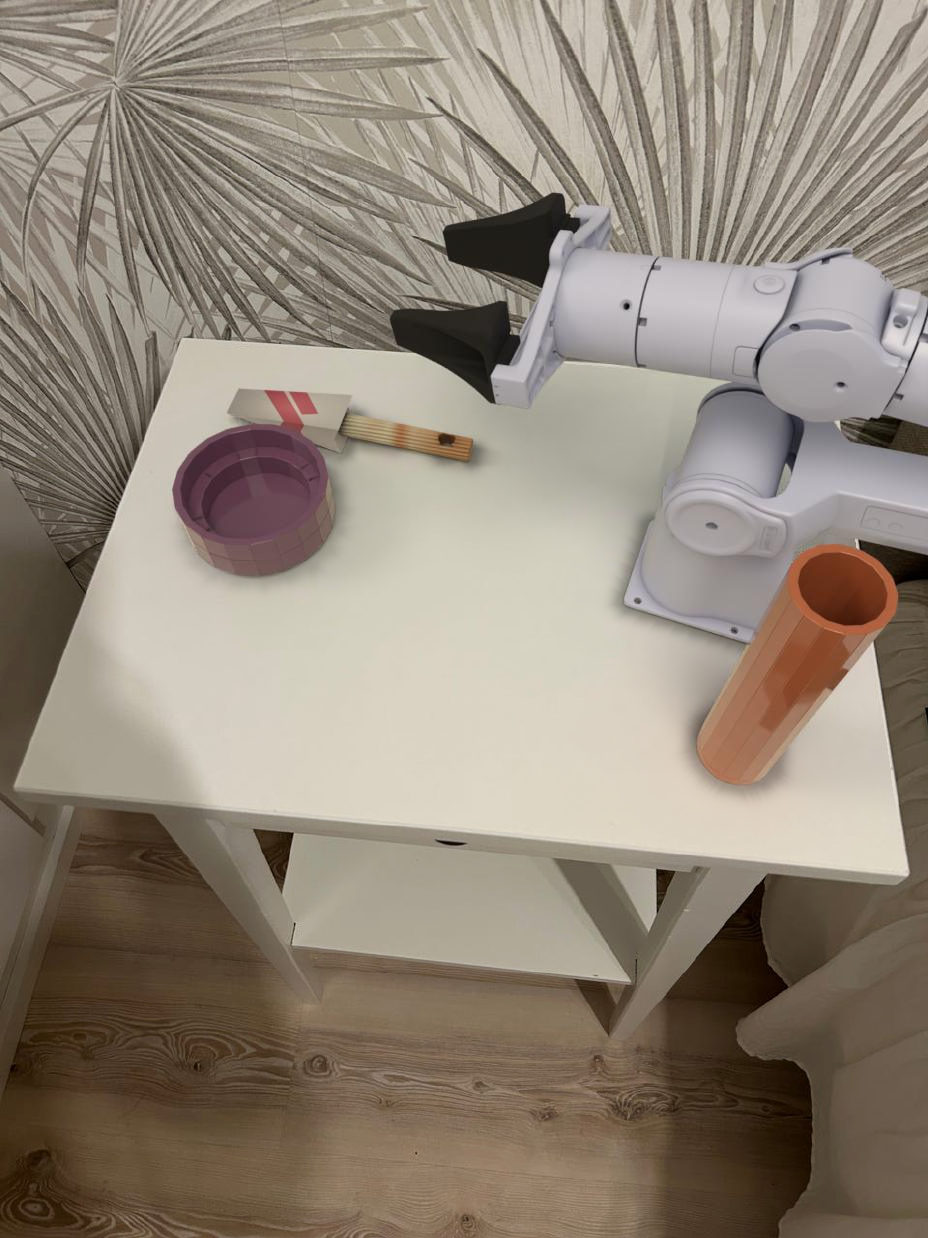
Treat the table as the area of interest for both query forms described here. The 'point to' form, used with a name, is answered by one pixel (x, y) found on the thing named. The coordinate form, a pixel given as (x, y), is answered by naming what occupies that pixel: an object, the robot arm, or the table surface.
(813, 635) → the vase
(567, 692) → the table surface
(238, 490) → the bowl
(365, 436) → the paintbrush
